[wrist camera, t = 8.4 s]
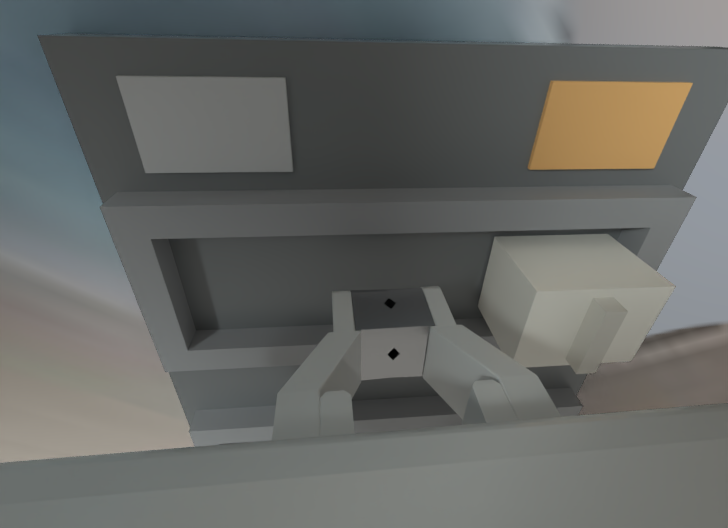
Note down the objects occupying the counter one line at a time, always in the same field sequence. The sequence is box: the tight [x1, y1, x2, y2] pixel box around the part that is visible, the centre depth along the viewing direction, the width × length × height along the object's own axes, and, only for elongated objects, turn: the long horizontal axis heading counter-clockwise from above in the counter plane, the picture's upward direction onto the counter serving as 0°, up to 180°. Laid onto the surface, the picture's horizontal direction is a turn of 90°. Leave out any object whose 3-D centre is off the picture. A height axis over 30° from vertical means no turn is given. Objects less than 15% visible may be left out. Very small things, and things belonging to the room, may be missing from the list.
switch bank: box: [37, 33, 728, 447], centre depth 16 cm, size 24×18×2 cm
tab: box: [478, 234, 676, 374], centre depth 12 cm, size 3×4×4 cm
